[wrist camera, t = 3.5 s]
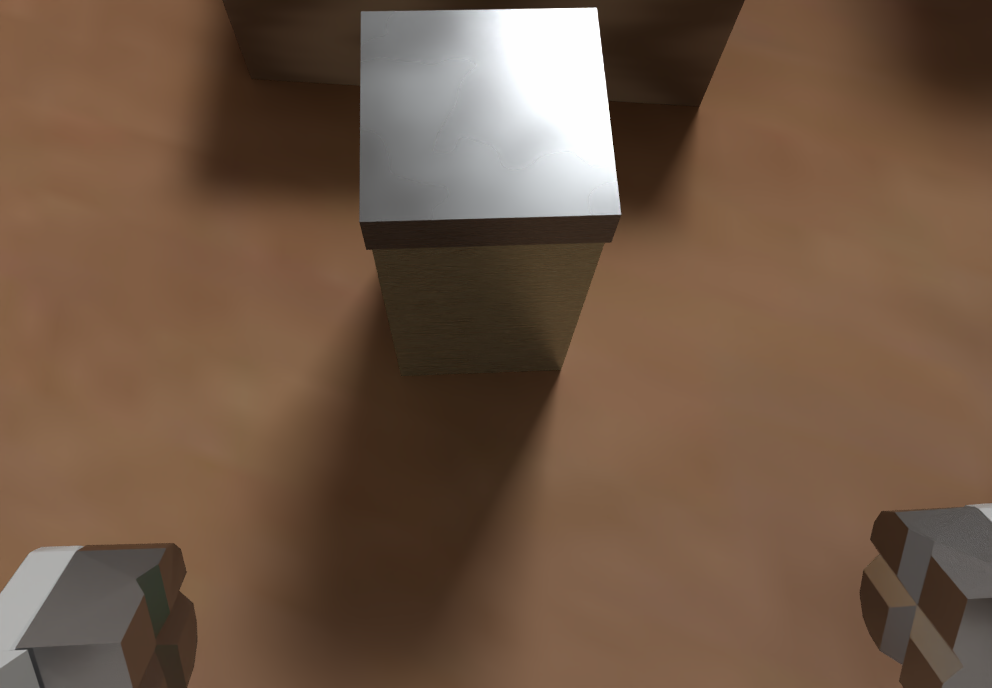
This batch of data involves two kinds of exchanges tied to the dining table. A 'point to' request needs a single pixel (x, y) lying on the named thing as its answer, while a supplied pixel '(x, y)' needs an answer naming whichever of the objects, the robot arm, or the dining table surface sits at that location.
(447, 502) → the dining table surface
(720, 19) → the walnut box
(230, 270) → the dining table surface
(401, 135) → the sage tea tin
